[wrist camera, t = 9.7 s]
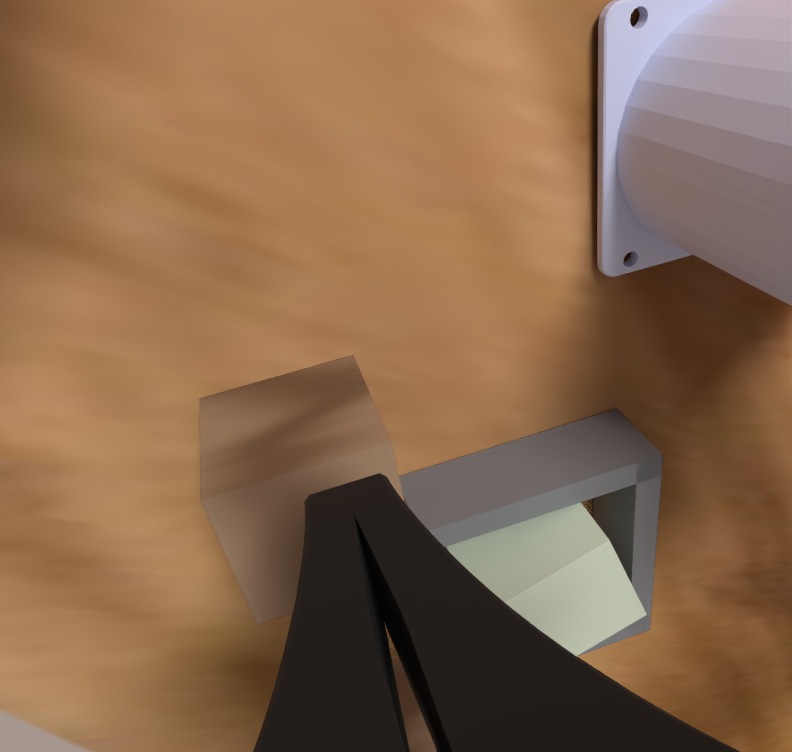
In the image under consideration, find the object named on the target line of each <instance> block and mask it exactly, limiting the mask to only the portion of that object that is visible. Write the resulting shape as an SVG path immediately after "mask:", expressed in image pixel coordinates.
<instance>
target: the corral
mask: <svg viewBox="0 0 792 752" xmlns="http://www.w3.org/2000/svg"><path fill="white" fill-rule="evenodd" d="M662 465H663V454H662V453H661V452H660V451H659V450H658V449H657V448H656V447H655V446H654V445H653V444H652V443H651V442H650V441H649V440H648V439H647V438H646V437H645V436H644V435H643V434H642V433H641V432H640V431H639V430H638V429H637V428H636V427H635V426H634V425H633V424H632V423H631V422H630V421H629V420H628V419H627V418H626V417H625V416H624V415H623V414H622V413H621V412H620V411H619V410H618V409H614V410H611V411H607V412H604V413H601V414H598V415H595V416H591V417H588V418H585V419H582V420H579V421H575V422H572V423H569V424H566V425H563V426H559V427H556V428H553V429H550V430H547V431H543V432H540V433H537V434H534V435H530V436H527V437H524V438H521V439H518V440H514V441H511V442H508V443H505V444H502V445H498V446H495V447H492V448H489V449H486V450H482V451H479V452H476V453H473V454H470V455H466V456H463V457H460V458H457V459H454V460H450V461H447V462H444V463H441V464H437V465H434V466H431V467H428V468H425V469H421V470H418V471H415V472H412V473H409V474H405V475H402V476H399V479H400V484H401V488H402V493H403V497H404V502H405V503H406V505H407V506H408V507H409V508H410V510H411V511H412V512H413V513H414V514H415V516H416V517H417V518H418V519H419V520H420V521H421V523H422V524H423V525H424V526H425V527H426V528H427V529H428V530H429V531H430V532H431V534H432V535H433V536H434V537H435V538H436V539H437V540H438V541H439V542H440V543H441V544H442V545H443V546H444V547H447V546H450V545H453V544H456V543H459V542H462V541H465V540H468V539H471V538H474V537H477V536H480V535H483V534H486V533H489V532H493V531H496V530H499V529H502V528H505V527H508V526H511V525H514V524H517V523H520V522H523V521H526V520H529V519H532V518H535V517H538V516H541V515H544V514H547V513H550V512H553V511H556V510H559V509H562V508H565V507H568V506H571V505H574V504H577V503H580V502H583V501H586V500H589V499H592V498H593V519H594V520H595V522H596V523H597V524H598V526H599V527H600V528H601V530H602V531H603V532H604V534H605V535H606V536H607V538H608V539H609V540H610V542H611V544H612V546H613V548H614V550H615V552H616V554H617V556H618V558H619V560H620V562H621V564H622V566H623V568H624V570H625V572H626V574H627V576H628V578H629V580H630V582H631V584H632V586H633V588H634V590H635V592H636V594H637V596H638V598H639V600H640V602H641V604H642V606H643V608H644V610H645V612H646V614H647V615H646V616H644V617H642V618H641V619H639V620H637V621H635V622H634V623H632V624H630V625H629V626H627V627H625V628H624V629H622V630H620V631H618V632H617V633H615V634H613V635H612V636H610V637H608V638H607V639H605V640H603V641H601V642H600V643H598V644H596V645H595V646H593V647H591V648H590V649H588V650H586V651H584V652H583V653H581V654H579V655H582V654H585V653H588V652H590V651H593V650H596V649H599V648H601V647H604V646H607V645H610V644H612V643H615V642H618V641H621V640H623V639H626V638H629V637H631V636H634V635H637V634H640V633H642V632H645V631H648V630H650V619H651V606H652V594H653V581H654V568H655V555H656V542H657V529H658V517H659V504H660V491H661V478H662ZM579 655H578V656H579Z"/></svg>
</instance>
